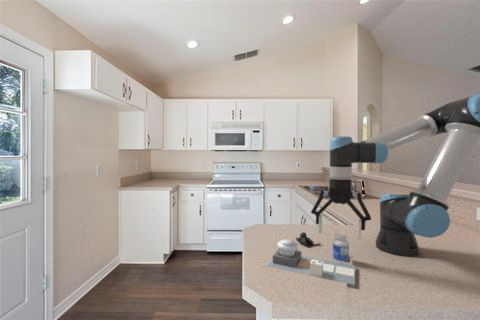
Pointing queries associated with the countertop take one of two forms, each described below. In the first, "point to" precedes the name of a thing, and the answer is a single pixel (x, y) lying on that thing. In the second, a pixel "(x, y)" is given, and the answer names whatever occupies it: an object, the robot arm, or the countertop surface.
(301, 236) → the stuffed animal
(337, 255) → the pill bottle
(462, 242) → the countertop surface
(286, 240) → the pop dome
